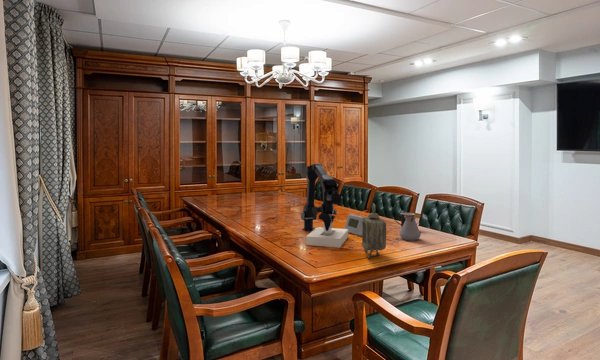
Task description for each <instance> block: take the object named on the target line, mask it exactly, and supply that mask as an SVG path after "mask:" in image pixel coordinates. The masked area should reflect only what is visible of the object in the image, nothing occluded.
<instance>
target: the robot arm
mask: <svg viewBox="0 0 600 360" xmlns="http://www.w3.org/2000/svg"><path fill="white" fill-rule="evenodd" d="M304 175H305V178H306V180H307V185H306V186H307V187H306V203H305V205H303V210H302V212H301V214H300V219H301V221H303V227H302V228H301V230H302V231H313V230H315V229H316V227H314V221H315V220H317V217H318V220H321V221H322V223H323V226H324V225H325V229H326V231H328V229H329V227H330V224H331V221H332V224H333V222H334V220H335V218H336V216H337V215H338V210H337V209H335V208H334V206H335V205H338V204H340V203H341V202H342V196H341V194H339V186H338V183H337V181H336V179H335V178H334V177H333V176H331V175H329V174H328V173H327V172H326V170H325V169H324V167H323V165H322V164H321V163H313V164H311V165H307V166H306V167H305V168H304ZM318 179H319V180H320V186H321V189H322V203H321V205H320V206H316V205H315V197H316V196H315V194H316V193H315V192H316V181H317V180H318Z"/></svg>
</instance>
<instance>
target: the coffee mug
mask: <svg viewBox="0 0 600 360" xmlns="http://www.w3.org/2000/svg"><path fill="white" fill-rule="evenodd" d="M404 216H416V214H415V213H414V212H413V213H412V212H401V213H400V215H395V216H394V218H393V220H394V222H396V223H397V224H399V225H400V226H401V228H402V227H403V224H404V222H405V220H406V219H405V218H404ZM397 217H398V218H399V219H400V222H398V221H397V220H396V218H397Z"/></svg>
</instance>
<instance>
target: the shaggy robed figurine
mask: <svg viewBox="0 0 600 360" xmlns="http://www.w3.org/2000/svg"><path fill="white" fill-rule="evenodd" d="M371 209H372V212H370V213H369V214H368V216H366V217H365V216H362V217H363V222H362V236H361V238H362V239H361V241H362V242H361V243H362V247H363V251H364V252H365V253H368V251H370V252H369V255H367V259H369V260H371V259H372V254H373V252H374V251H375V252H376V253H375V255H376V256H378V257H379V256H380V253H379V251H383V250H385V249H386V248H387V247H386V246H387V222H386V221H385V220H384V219H382V218H380V216H379V214H378V213H377V212H376V203H374V202H372V205H371Z"/></svg>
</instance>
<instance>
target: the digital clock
mask: <svg viewBox="0 0 600 360" xmlns="http://www.w3.org/2000/svg"><path fill="white" fill-rule="evenodd" d="M363 217H364V216H361V215H356V214H352V213H350V214H348V215H347V219H346V221H345V225H344V228H343V229H348V234H351V235H354V236H360V237H362V222H363Z"/></svg>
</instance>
